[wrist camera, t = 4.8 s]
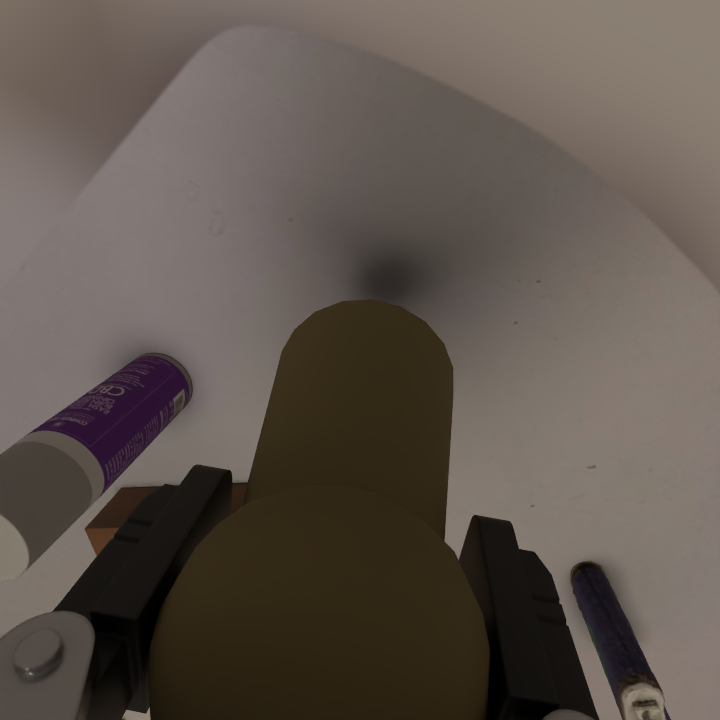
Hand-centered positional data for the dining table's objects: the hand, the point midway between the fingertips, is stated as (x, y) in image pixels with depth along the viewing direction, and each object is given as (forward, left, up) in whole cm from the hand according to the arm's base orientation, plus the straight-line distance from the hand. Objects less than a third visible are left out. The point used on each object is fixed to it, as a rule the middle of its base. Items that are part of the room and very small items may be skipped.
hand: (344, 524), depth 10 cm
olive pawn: (0, 0, -7) cm, 7 cm away
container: (+9, -15, -20) cm, 27 cm away
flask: (+22, +20, -20) cm, 36 cm away
